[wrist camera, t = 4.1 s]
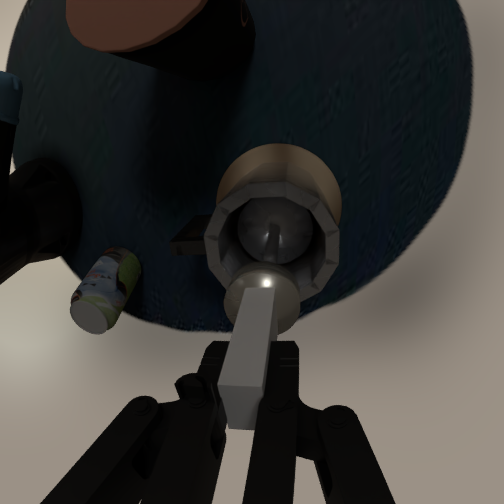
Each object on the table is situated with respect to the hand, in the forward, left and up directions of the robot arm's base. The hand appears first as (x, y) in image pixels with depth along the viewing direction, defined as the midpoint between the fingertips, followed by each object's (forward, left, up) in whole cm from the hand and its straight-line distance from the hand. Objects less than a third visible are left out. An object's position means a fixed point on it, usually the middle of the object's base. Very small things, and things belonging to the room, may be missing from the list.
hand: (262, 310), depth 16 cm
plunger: (0, 0, -13) cm, 13 cm away
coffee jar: (-6, +20, -21) cm, 29 cm away
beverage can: (-21, -7, -21) cm, 30 cm away
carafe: (-2, 0, -20) cm, 20 cm away
